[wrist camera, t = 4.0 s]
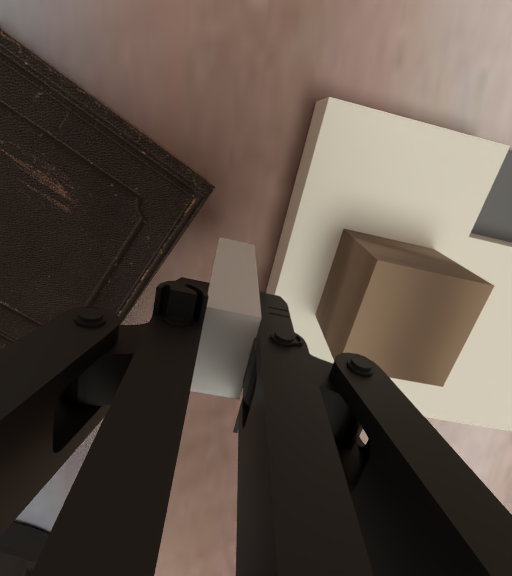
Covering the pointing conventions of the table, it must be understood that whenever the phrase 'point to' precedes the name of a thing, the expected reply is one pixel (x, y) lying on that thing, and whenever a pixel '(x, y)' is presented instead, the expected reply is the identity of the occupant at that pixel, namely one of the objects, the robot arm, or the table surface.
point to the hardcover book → (78, 199)
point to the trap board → (407, 235)
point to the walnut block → (399, 306)
